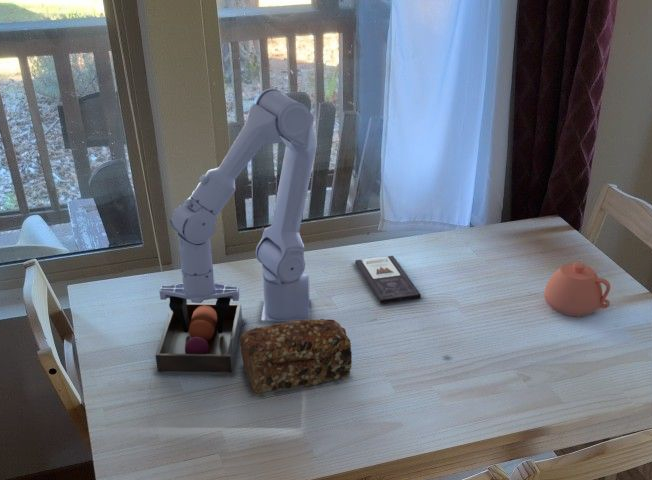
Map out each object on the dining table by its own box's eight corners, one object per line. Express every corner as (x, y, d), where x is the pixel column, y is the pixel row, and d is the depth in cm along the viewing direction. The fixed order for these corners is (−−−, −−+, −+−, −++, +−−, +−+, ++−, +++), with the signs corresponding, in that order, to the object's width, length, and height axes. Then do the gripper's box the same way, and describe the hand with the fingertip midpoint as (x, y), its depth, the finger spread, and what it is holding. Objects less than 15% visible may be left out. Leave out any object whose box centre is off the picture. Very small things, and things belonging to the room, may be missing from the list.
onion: (211, 352, 157) (209, 332, 154) (208, 365, 153) (206, 345, 150) (188, 351, 156) (185, 332, 154) (184, 365, 153) (181, 345, 150)
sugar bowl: (553, 286, 184) (561, 245, 178) (614, 304, 179) (624, 262, 173) (534, 311, 175) (541, 268, 169) (597, 330, 170) (607, 287, 164)
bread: (253, 398, 147) (250, 352, 141) (240, 365, 155) (237, 320, 149) (353, 380, 152) (354, 335, 146) (336, 349, 160) (336, 305, 154)
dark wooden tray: (242, 321, 167) (241, 303, 164) (232, 374, 152) (230, 356, 150) (175, 320, 166) (172, 302, 164) (158, 373, 151) (155, 355, 149)
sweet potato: (195, 321, 165) (193, 300, 162) (219, 321, 165) (217, 301, 162) (188, 347, 157) (185, 326, 154) (213, 348, 158) (211, 326, 155)
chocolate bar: (380, 299, 174) (355, 260, 187) (380, 303, 174) (355, 264, 188) (420, 294, 177) (392, 255, 190) (420, 298, 177) (392, 259, 191)
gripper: (153, 278, 149) (162, 340, 157) (234, 279, 150) (239, 342, 158) (160, 259, 154) (168, 321, 163) (238, 261, 155) (243, 322, 164)
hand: (203, 330), depth 161 cm, fingers open, 6 cm apart
